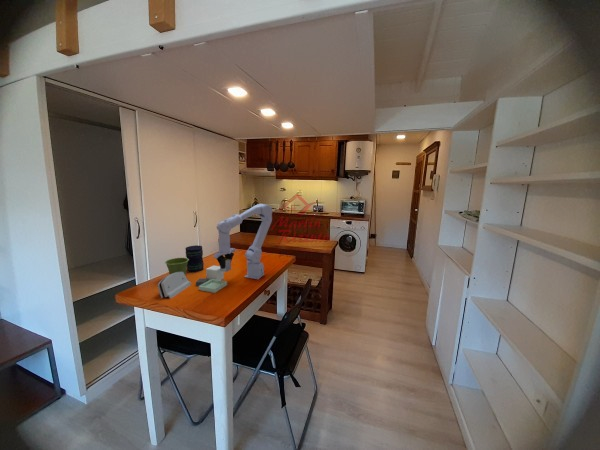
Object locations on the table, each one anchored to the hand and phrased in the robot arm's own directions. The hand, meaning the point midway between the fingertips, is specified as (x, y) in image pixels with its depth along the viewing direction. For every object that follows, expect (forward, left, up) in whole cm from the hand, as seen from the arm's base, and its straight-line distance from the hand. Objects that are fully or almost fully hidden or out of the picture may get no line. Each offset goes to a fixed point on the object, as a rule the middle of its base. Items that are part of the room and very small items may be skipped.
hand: (225, 267), depth 123 cm
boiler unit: (+8, -1, -9) cm, 12 cm away
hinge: (+19, +17, -9) cm, 27 cm away
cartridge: (0, 0, -2) cm, 2 cm away
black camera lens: (+30, -9, -9) cm, 33 cm away
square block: (+11, +6, -9) cm, 16 cm away
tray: (+2, +8, -9) cm, 12 cm away
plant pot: (+28, +6, -9) cm, 30 cm away
